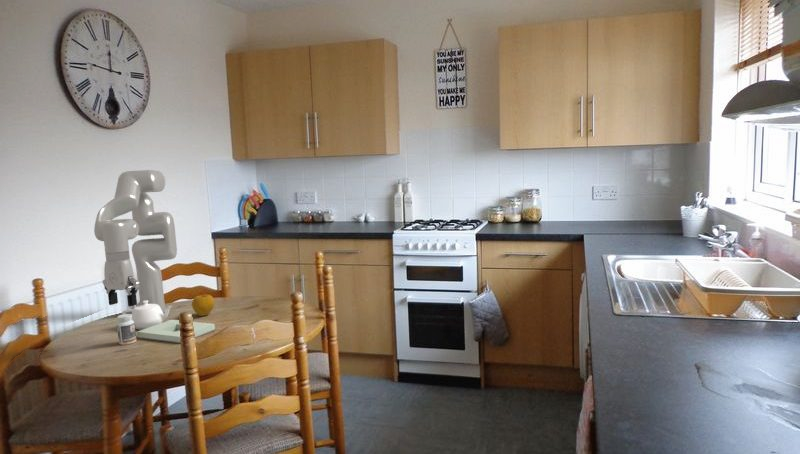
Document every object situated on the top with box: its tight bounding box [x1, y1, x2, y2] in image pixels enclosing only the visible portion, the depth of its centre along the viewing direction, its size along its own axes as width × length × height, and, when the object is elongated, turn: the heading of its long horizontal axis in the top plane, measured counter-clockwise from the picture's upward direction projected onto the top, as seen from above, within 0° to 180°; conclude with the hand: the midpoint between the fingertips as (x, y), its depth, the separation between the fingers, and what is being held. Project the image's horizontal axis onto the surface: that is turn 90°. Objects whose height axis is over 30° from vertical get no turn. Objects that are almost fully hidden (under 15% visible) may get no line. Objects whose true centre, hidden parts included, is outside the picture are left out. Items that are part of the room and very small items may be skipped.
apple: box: [191, 294, 216, 317], centre depth 236 cm, size 9×9×9 cm
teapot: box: [121, 300, 173, 331], centre depth 224 cm, size 20×12×10 cm, turn 88°
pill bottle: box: [116, 313, 137, 346], centre depth 204 cm, size 6×6×10 cm
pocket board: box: [136, 319, 216, 344], centre depth 212 cm, size 22×16×2 cm
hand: (123, 304), depth 202 cm, fingers open, 9 cm apart
